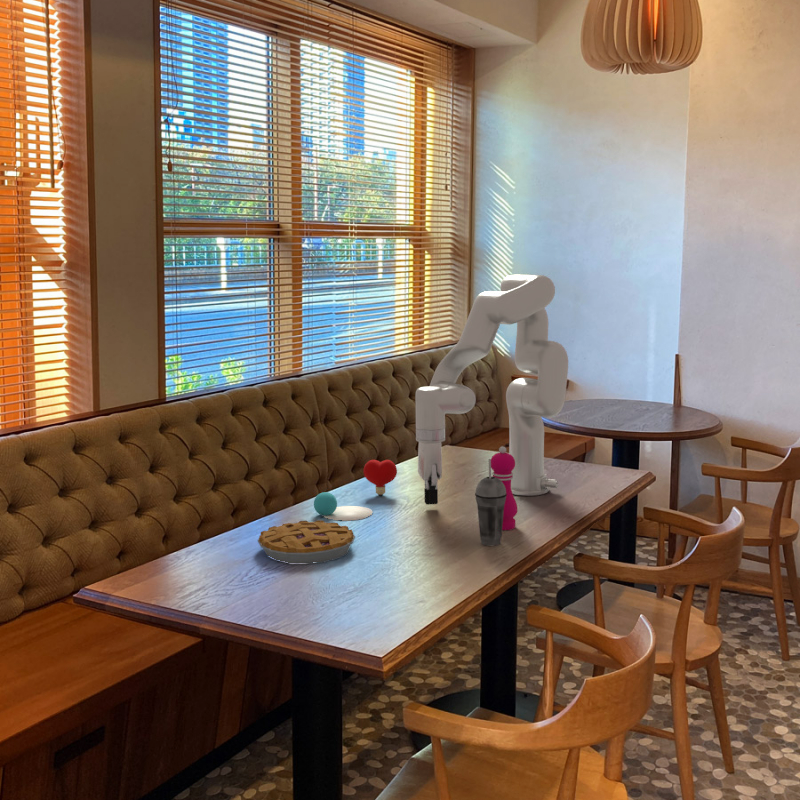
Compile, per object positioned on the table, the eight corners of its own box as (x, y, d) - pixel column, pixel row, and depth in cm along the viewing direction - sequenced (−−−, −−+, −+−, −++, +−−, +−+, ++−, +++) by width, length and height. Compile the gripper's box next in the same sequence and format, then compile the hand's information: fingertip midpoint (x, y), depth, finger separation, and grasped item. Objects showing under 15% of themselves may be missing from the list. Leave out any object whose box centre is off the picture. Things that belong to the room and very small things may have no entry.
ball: (305, 503, 238) (318, 521, 239) (317, 500, 233) (331, 519, 234) (319, 489, 241) (332, 507, 243) (332, 486, 237) (345, 504, 238)
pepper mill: (521, 524, 228) (521, 444, 225) (512, 532, 221) (512, 450, 218) (493, 521, 231) (493, 442, 228) (483, 529, 224) (483, 448, 221)
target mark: (381, 509, 242) (381, 509, 242) (357, 523, 231) (357, 522, 231) (338, 504, 248) (338, 503, 248) (312, 517, 237) (312, 516, 237)
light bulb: (398, 492, 260) (398, 457, 258) (396, 499, 253) (395, 463, 251) (365, 492, 261) (364, 457, 259) (362, 498, 254) (361, 462, 252)
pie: (278, 574, 196) (277, 551, 195) (245, 546, 215) (244, 525, 214) (371, 557, 206) (370, 535, 205) (332, 531, 225) (331, 511, 224)
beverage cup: (509, 539, 216) (510, 455, 213) (502, 549, 209) (503, 462, 206) (479, 536, 218) (479, 453, 215) (471, 546, 212) (471, 460, 208)
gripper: (411, 429, 246) (412, 496, 249) (420, 441, 232) (421, 512, 235) (439, 428, 247) (439, 495, 250) (450, 439, 233) (450, 510, 236)
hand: (431, 503), depth 242 cm, fingers closed
